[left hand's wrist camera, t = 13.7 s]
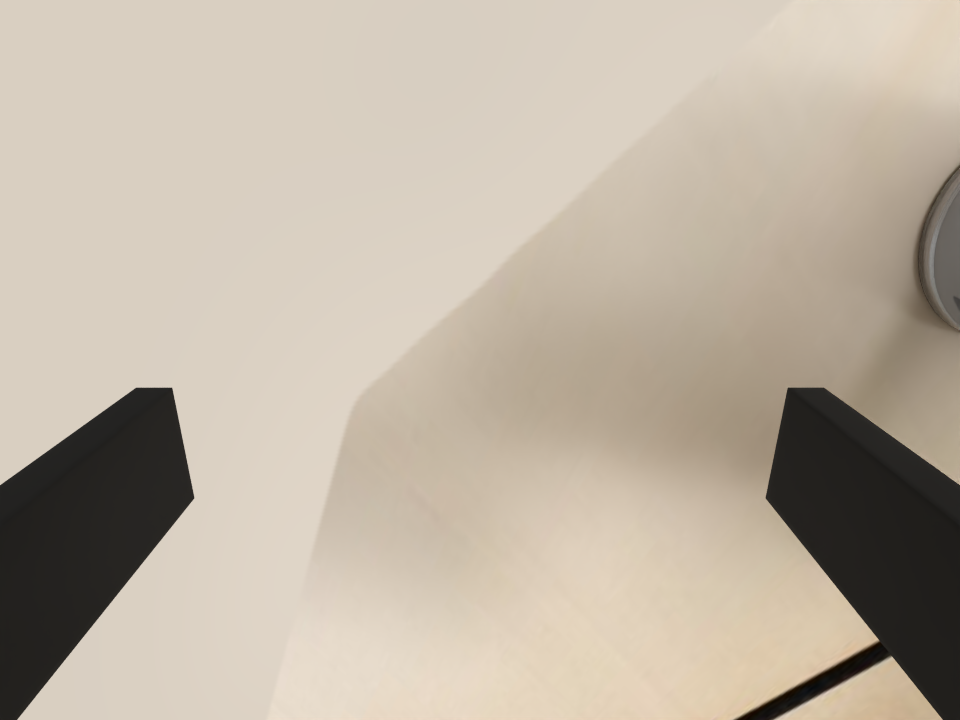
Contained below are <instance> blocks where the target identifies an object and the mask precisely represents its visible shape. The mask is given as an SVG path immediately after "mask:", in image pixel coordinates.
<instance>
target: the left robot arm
mask: <svg viewBox="0 0 960 720" xmlns="http://www.w3.org/2000/svg"><path fill="white" fill-rule="evenodd" d="M919 274H920V280H921V284H922V287H923V291H924V293H925V295H926V298H927V300H928V301H929V303H930V305H931V306H932V308H933V309H934V310H935V312H936V313H937V314H938V315H939V316H940V317H941V318H942V319H943V320H944V321H945V322H947V323H948V324H949V325H951V326H952V327H954V328H956V329H958V330H960V168H959V169H958V170H957V171H956V172H955V173H954V174H953V176H952V177H951V178H950V180H949V181H948V182H947V184H946V185H945V186H944V188H943V189H942V191H941V193H940V194H939V196H938V197H937V199H936V201H935V203H934V205H933V207H932V209H931V211H930V213H929V216H928V218H927V221H926V223H925V226H924V229H923V233H922V237H921V242H920V249H919ZM193 499H194V494H193V489H192V484H191V479H190V474H189V469H188V464H187V459H186V454H185V449H184V444H183V439H182V434H181V429H180V424H179V420H178V415H177V410H176V405H175V400H174V395H173V390H172V388H135V389H134V390H132V391H131V392H130V393H128V394H127V395H125V396H124V397H123V398H121V399H120V400H119V401H117V402H116V403H114V404H113V405H112V406H110V407H109V408H107V409H106V410H105V411H103V412H102V413H100V414H99V415H98V416H96V417H95V418H93V419H92V420H91V421H89V422H88V423H86V424H85V425H84V426H82V427H81V428H79V429H78V430H77V431H75V432H74V433H72V434H71V435H70V436H68V437H67V438H66V439H64V440H63V441H61V442H60V443H59V444H57V445H56V446H54V447H53V448H52V449H50V450H49V451H47V452H46V453H45V454H43V455H42V456H40V457H39V458H38V459H36V460H35V461H33V462H32V463H31V464H29V465H28V466H26V467H25V468H24V469H22V470H21V471H20V472H18V473H17V474H15V475H14V476H13V477H11V478H10V479H8V480H7V481H6V482H4V483H3V484H1V485H0V720H17V719H18V718H19V717H20V715H21V714H22V713H23V712H24V710H25V709H26V708H27V707H28V705H29V704H30V703H31V702H32V700H33V699H34V698H35V697H36V695H37V694H38V693H39V692H40V690H41V689H42V688H43V687H44V685H45V684H46V683H47V682H48V680H49V679H50V678H51V677H52V675H53V674H54V673H55V672H56V670H57V669H58V668H59V667H60V665H61V664H62V663H63V662H64V660H65V659H66V658H67V657H68V655H69V654H70V653H71V652H72V650H73V649H74V648H75V647H76V645H77V644H78V643H79V642H80V640H81V639H82V638H83V637H84V635H85V634H86V633H87V632H88V630H89V629H90V628H91V627H92V625H93V624H94V623H95V622H96V620H97V619H98V618H99V617H100V615H101V614H102V613H103V612H104V610H105V609H106V608H107V607H108V605H109V604H110V603H111V602H112V600H113V599H114V598H115V597H116V595H117V594H118V593H119V592H120V590H121V589H122V588H123V587H124V585H125V584H126V583H127V582H128V580H129V579H130V578H131V577H132V575H133V574H134V573H135V572H136V570H137V569H138V568H139V567H140V565H141V564H142V563H143V562H144V560H145V559H146V558H147V557H148V555H149V554H150V553H151V552H152V550H153V549H154V548H155V547H156V545H157V544H158V543H159V542H160V540H161V539H162V538H163V537H164V535H165V534H166V533H167V532H168V530H169V529H170V528H171V527H172V525H173V524H174V523H175V522H176V520H177V519H178V518H179V517H180V515H181V514H182V513H183V512H184V510H185V509H186V508H187V507H188V505H189V504H190V503H191V502H192V500H193ZM766 499H767V500H768V502H769V503H770V504H771V505H772V507H773V508H774V509H775V510H776V512H777V513H778V514H779V515H780V517H781V518H782V519H783V520H784V522H785V523H786V524H787V525H788V527H789V528H790V529H791V530H792V532H793V533H794V534H795V535H796V537H797V538H798V539H799V540H800V542H801V543H802V544H803V545H804V547H805V548H806V549H807V550H808V552H809V553H810V554H811V555H812V557H813V558H814V559H815V560H816V562H817V563H818V564H819V565H820V567H821V568H822V569H823V570H824V572H825V573H826V574H827V575H828V577H829V578H830V579H831V580H832V582H833V583H834V584H835V585H836V587H837V588H838V589H839V590H840V592H841V593H842V594H843V595H844V597H845V598H846V599H847V600H848V602H849V603H850V604H851V605H852V607H853V608H854V609H855V610H856V612H857V613H858V614H859V615H860V617H861V618H862V619H863V620H864V622H865V623H866V624H867V625H868V627H869V628H870V629H871V630H872V632H873V633H874V634H875V635H876V637H877V638H878V639H879V640H880V642H881V643H882V644H883V645H884V647H885V648H886V649H887V650H888V652H889V653H890V654H891V655H892V657H893V658H894V659H895V660H896V662H897V663H898V664H899V665H900V667H901V668H902V669H903V670H904V672H905V673H906V674H907V675H908V677H909V678H910V679H911V680H912V682H913V683H914V684H915V685H916V687H917V688H918V689H919V690H920V692H921V693H922V694H923V695H924V697H925V698H926V699H927V700H928V702H929V703H930V704H931V705H932V707H933V708H934V709H935V710H936V712H937V713H938V714H939V715H940V717H941V718H942V719H943V720H960V485H959V484H957V483H956V482H954V481H953V480H952V479H950V478H949V477H947V476H946V475H945V474H943V473H942V472H941V471H939V470H938V469H936V468H935V467H934V466H932V465H931V464H929V463H928V462H927V461H925V460H924V459H922V458H921V457H920V456H918V455H917V454H915V453H914V452H913V451H911V450H910V449H908V448H907V447H906V446H904V445H903V444H901V443H900V442H899V441H897V440H896V439H895V438H893V437H892V436H890V435H889V434H888V433H886V432H885V431H883V430H882V429H881V428H879V427H878V426H876V425H875V424H874V423H872V422H871V421H869V420H868V419H867V418H865V417H864V416H862V415H861V414H860V413H858V412H857V411H855V410H854V409H853V408H851V407H850V406H849V405H847V404H846V403H844V402H843V401H842V400H840V399H839V398H837V397H836V396H835V395H833V394H832V393H830V392H829V391H828V390H826V389H825V388H788V390H787V395H786V400H785V405H784V410H783V414H782V419H781V424H780V429H779V434H778V439H777V444H776V449H775V454H774V459H773V464H772V469H771V474H770V479H769V484H768V489H767V494H766Z"/></svg>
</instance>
